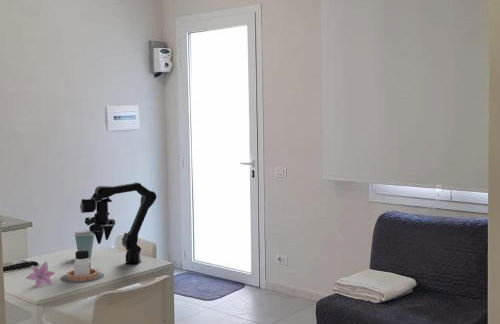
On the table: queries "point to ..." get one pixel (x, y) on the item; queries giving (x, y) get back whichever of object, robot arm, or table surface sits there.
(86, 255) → the medicine bottle
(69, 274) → the terracotta bowl
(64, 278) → the rubber mat
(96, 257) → the table surface
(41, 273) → the lily
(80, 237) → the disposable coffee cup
